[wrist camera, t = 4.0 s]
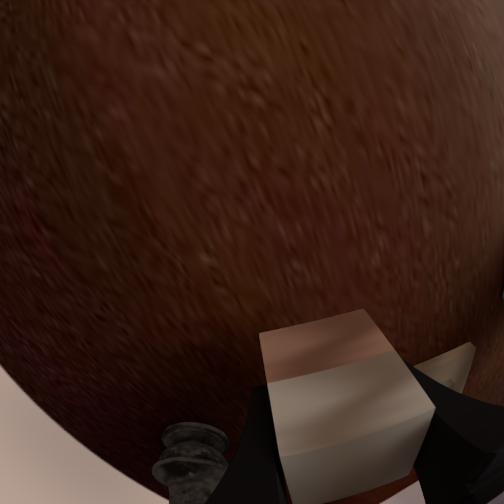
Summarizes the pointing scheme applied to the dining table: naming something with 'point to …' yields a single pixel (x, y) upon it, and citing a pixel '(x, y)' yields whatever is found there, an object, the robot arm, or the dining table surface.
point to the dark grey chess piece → (191, 461)
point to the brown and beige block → (342, 407)
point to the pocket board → (450, 367)
